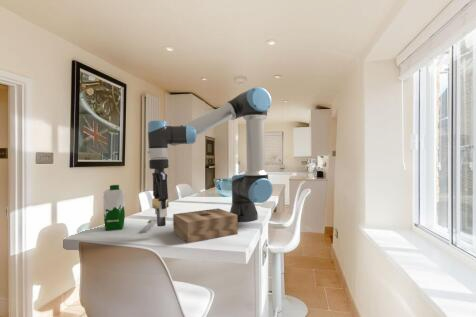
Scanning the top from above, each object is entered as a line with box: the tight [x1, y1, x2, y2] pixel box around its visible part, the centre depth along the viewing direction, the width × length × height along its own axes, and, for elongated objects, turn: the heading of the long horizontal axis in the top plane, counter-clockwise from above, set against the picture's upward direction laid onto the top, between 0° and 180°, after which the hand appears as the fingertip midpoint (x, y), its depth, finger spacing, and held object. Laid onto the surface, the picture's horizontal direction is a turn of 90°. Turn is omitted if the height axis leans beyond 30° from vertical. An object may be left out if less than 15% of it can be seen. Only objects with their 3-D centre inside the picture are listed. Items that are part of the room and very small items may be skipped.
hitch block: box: [172, 208, 239, 244], centre depth 119 cm, size 22×18×8 cm
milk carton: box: [102, 184, 126, 231], centre depth 130 cm, size 9×9×20 cm
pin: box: [151, 198, 170, 228], centre depth 113 cm, size 6×6×11 cm
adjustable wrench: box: [139, 217, 157, 234], centre depth 134 cm, size 25×6×2 cm, turn 176°
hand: (161, 215), depth 114 cm, fingers closed on pin, 6 cm apart
